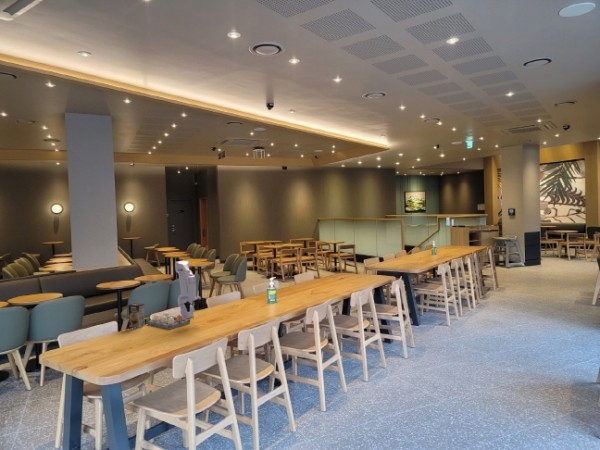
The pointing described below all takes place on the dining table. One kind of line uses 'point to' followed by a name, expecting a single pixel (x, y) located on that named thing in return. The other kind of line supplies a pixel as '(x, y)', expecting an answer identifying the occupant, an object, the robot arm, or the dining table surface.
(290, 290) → the dining table surface
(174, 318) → the egg tray
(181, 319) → the terracotta egg
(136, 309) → the coffee box
